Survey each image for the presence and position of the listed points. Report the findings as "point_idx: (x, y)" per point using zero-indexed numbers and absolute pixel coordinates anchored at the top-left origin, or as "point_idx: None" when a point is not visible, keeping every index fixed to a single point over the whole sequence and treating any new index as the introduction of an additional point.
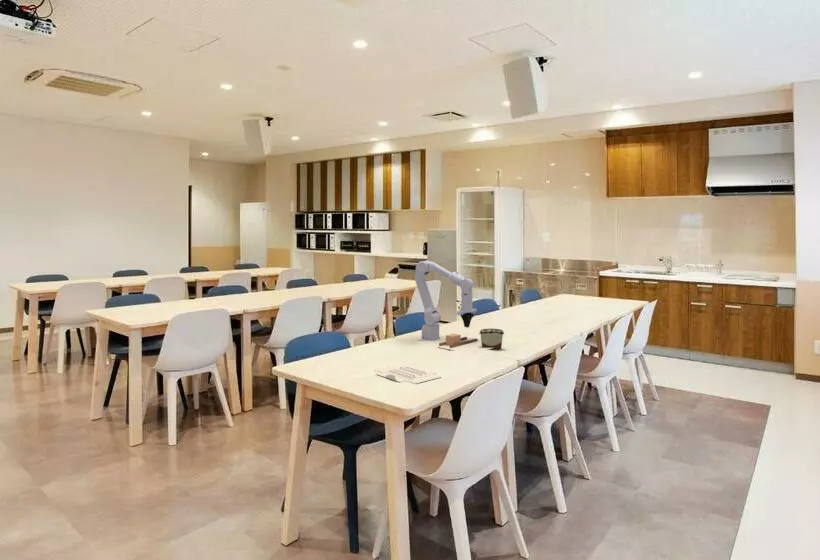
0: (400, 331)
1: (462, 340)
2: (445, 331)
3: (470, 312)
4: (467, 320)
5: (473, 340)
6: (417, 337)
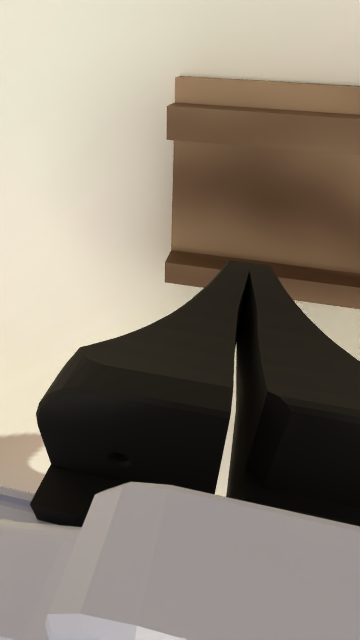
0: None
1: (246, 261)
2: (40, 453)
3: (54, 517)
4: (326, 340)
5: (262, 111)
6: None
